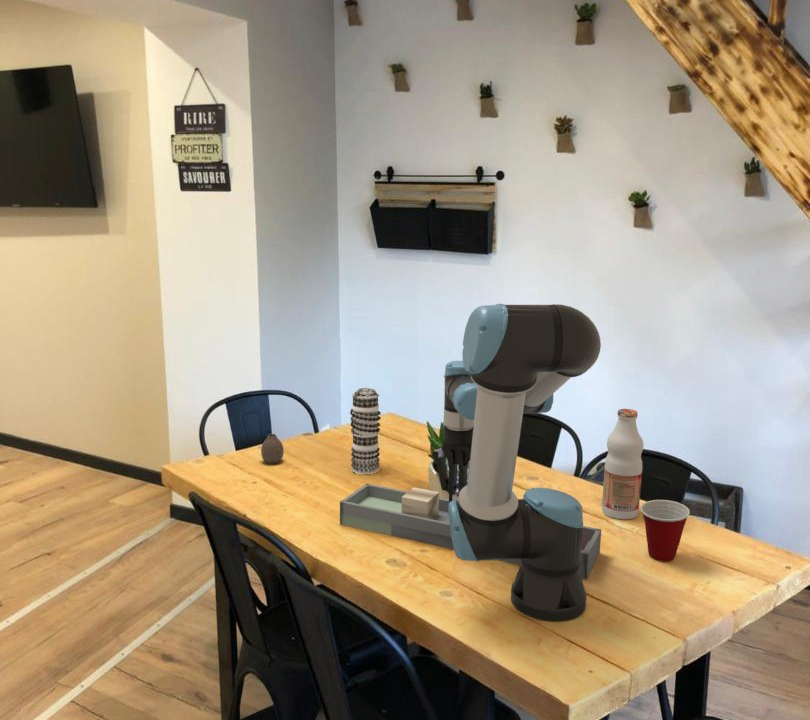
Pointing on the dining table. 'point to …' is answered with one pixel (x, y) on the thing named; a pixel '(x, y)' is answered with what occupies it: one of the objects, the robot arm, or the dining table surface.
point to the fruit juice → (623, 468)
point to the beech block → (421, 503)
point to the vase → (272, 449)
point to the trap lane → (428, 522)
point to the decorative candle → (365, 431)
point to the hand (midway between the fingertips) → (456, 519)
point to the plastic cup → (664, 527)
